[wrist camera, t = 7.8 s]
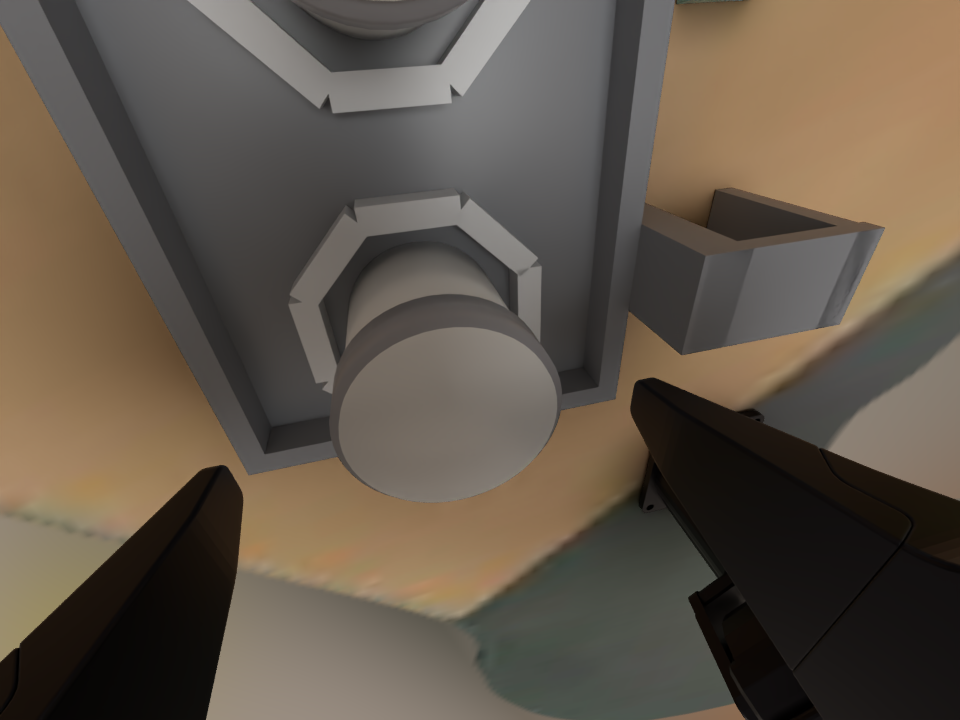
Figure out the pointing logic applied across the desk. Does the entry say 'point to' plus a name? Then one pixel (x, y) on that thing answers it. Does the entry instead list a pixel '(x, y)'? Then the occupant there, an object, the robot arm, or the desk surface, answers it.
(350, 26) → the white domed cylinder
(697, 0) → the bar
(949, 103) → the desk surface
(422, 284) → the grey lidded container
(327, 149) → the tray
